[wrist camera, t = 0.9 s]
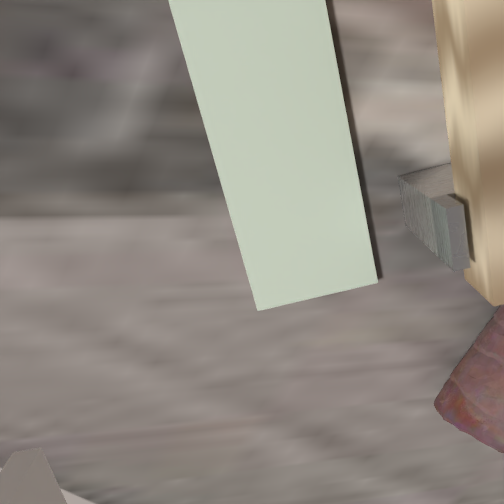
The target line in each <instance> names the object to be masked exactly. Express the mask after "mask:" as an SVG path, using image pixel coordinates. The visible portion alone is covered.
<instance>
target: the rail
mask: <svg viewBox="0 0 504 504" xmlns="http://www.w3.org/2000/svg"><path fill="white" fill-rule="evenodd" d="M432 5H433V14H434V22H435V31H436V39H437V47H438V56H439V64H440V73H441V81H442V90H443V98H444V106H445V115H446V123H447V132H448V140H449V149H450V157H451V165H452V174H453V182H454V191H455V199H456V200H457V201H459V202H460V203H462V204H463V205H464V214H465V222H466V231H467V240H468V249H469V258H470V267H471V268H467V269H464V275H465V280H467V281H468V282H469V283H470V284H471V285H472V286H473V287H474V288H475V289H476V290H477V291H478V292H479V293H480V294H481V295H482V296H483V297H485V298H486V299H487V300H488V301H489V302H490V303H491V304H492V305H493V306H498V305H503V304H504V0H432Z"/></svg>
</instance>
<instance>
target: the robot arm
mask: <svg viewBox="0 0 504 504" xmlns="http://www.w3.org/2000/svg"><path fill="white" fill-rule="evenodd" d="M0 504H67V503H66V501H65V498H64V496H63V494H62V492H61V490H60V488H59V485H58V483H57V481H56V479H55V477H54V474H53V472H52V470H51V468H50V466H49V464H48V461H47V459H46V457H45V455H44V453H43V451H42V448H41V447H40V448H35V449H29V450H24V451H18V452H13V453H12V455H11V456H10V458H9V459H8V461H7V462H6V464H5V465H4V467H3V468H2V470H1V472H0Z"/></svg>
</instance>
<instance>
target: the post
mask: <svg viewBox="0 0 504 504" xmlns="http://www.w3.org/2000/svg"><path fill="white" fill-rule="evenodd" d="M398 181H399V187H400V194H401V200H402V206H403V212H404V219H405V225H406V226H407V227H408V228H409V229H410V230H411V231H412V232H413V233H414V234H415V235H416V236H417V237H418V238H419V239H420V240H421V241H422V242H423V243H424V244H425V245H426V246H427V247H429V248H430V249H431V250H432V251H433V252H434V253H435V254H436V255H437V256H438V257H439V258H440V259H441V260H442V261H443V262H444V263H445V264H446V265H447V266H448V267H449V268H450V269H451V270H453V271H454V272H455V271H459V270H463V269H467V268H471V267H470V258H469V249H468V240H467V231H466V222H465V214H464V205H463V204H462V203H460V202H459V201H457V200H456V199H455V191H454V182H453V174H452V165H451V163H449V164H445V165H441V166H437V167H433V168H429V169H425V170H421V171H417V172H413V173H409V174H405V175H401V176H398Z"/></svg>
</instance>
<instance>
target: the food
mask: <svg viewBox="0 0 504 504" xmlns="http://www.w3.org/2000/svg"><path fill="white" fill-rule="evenodd" d="M434 406H435V408H436V410H437V411H438V413H439V414H440V415H441V416H442V417H443V419H444V420H445V421H447V422H449V423H451V424H453V425H454V426H456V427H457V428H458V429H459V430H460V431H463V432H466V433H468V434H470V435H472V436H473V437H474V438H476V439H477V440H479V441H481V442H482V443H484V444H486V445H488V446H490V447H492V448H494V449H496V450H497V451H498V452H501V453H504V304H503V305H500V307H499V308H498V309H497V311H496V312H495V313H494V317H493V318H492V319H491V320H490V321H489V322H488V323H487V325H486V326H485V328H484V329H483V331H482V332H481V333H480V335H479V336H478V337H477V339H476V341H475V343H474V344H473V345H472V347H471V348H470V349H469V350H468V352H467V353H466V355H465V356H464V357H463V358H462V360H461V361H460V363H459V364H458V365H457V366H456V368H455V369H454V370H453V372H452V373H451V375H450V378H449V379H448V381H447V382H446V383H445V385H444V386H443V388H442V390H441V391H440V393H439V394H438V396H437V397H436V399H435V401H434Z"/></svg>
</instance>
